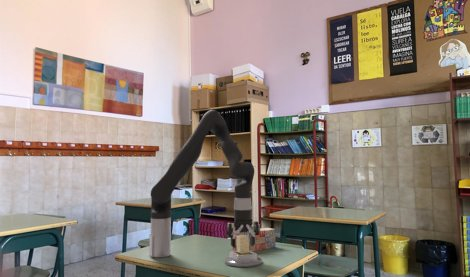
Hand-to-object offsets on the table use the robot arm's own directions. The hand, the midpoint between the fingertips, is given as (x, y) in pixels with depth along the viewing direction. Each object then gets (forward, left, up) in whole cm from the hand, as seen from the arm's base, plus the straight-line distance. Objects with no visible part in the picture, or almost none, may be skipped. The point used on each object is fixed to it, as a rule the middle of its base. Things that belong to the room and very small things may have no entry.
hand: (243, 246), depth 158 cm
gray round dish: (0, 0, -7) cm, 7 cm away
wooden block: (0, 0, -6) cm, 6 cm away
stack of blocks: (+16, +22, -7) cm, 28 cm away
